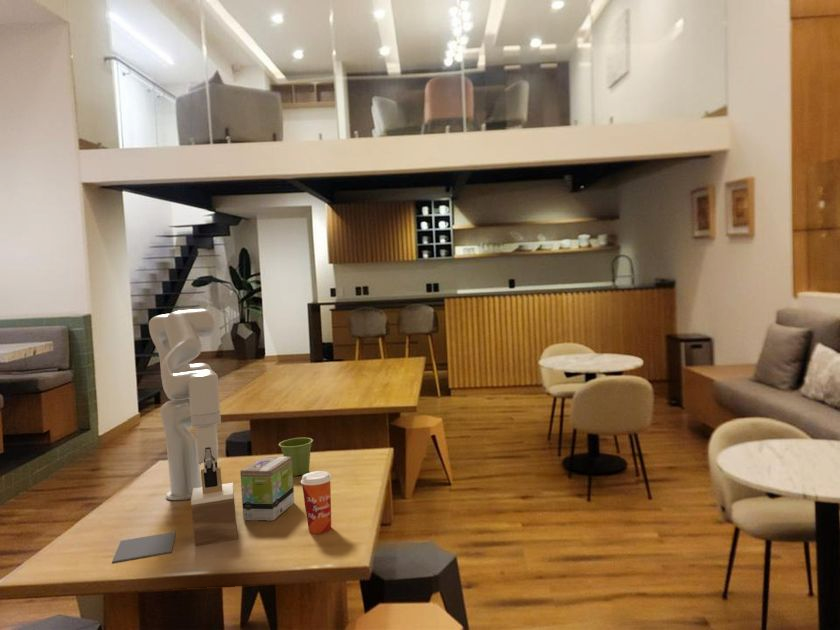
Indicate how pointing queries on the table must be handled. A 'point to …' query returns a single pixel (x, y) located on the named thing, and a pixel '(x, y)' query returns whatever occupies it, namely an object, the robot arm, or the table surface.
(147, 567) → the table surface
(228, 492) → the lid
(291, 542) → the table surface
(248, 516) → the tea box
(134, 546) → the mat
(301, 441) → the plant pot
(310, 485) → the coffee cup
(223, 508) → the box
